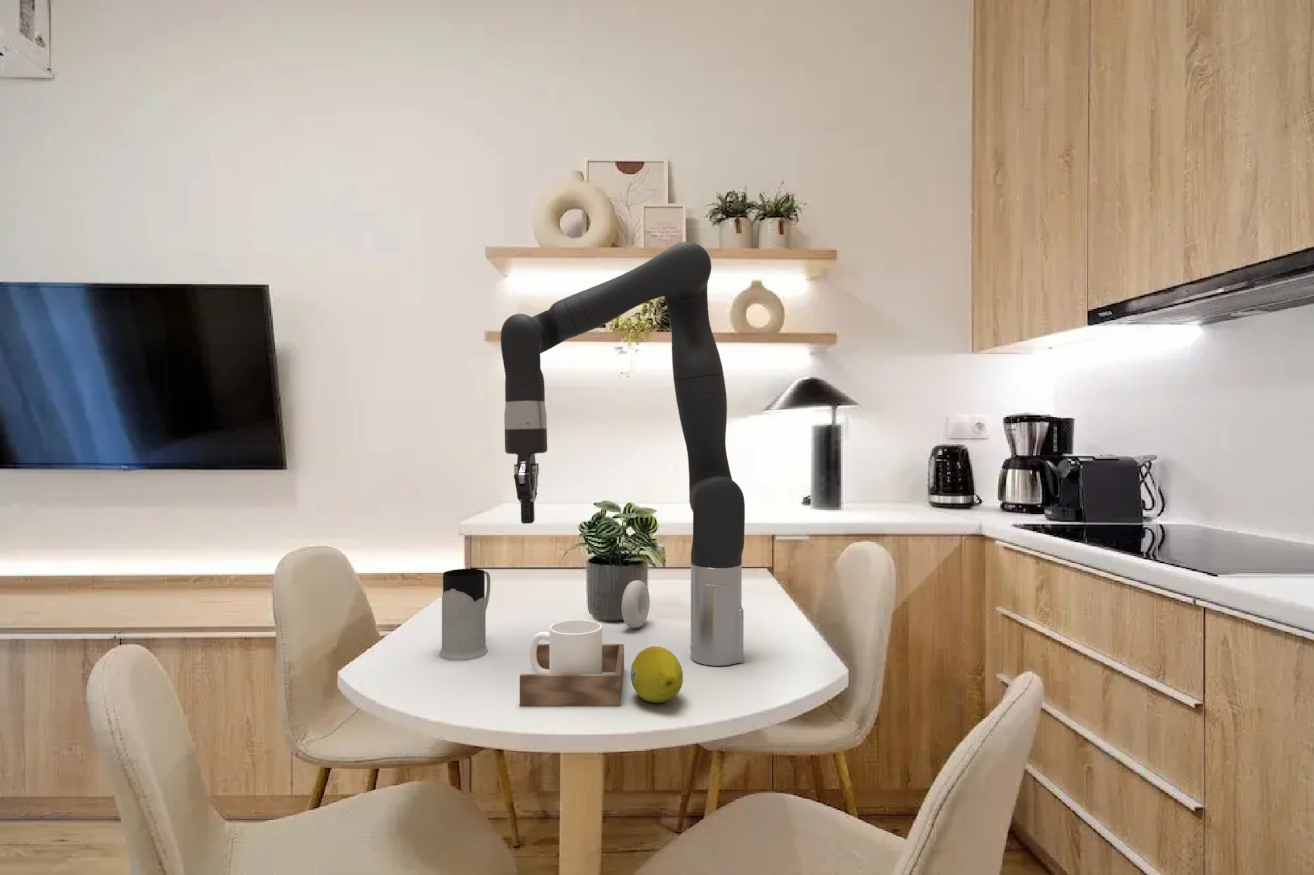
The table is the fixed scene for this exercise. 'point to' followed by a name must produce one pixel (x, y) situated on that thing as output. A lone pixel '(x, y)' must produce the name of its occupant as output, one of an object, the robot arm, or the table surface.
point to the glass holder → (464, 614)
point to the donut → (635, 604)
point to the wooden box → (575, 682)
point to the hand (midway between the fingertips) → (527, 522)
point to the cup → (571, 648)
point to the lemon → (656, 674)
